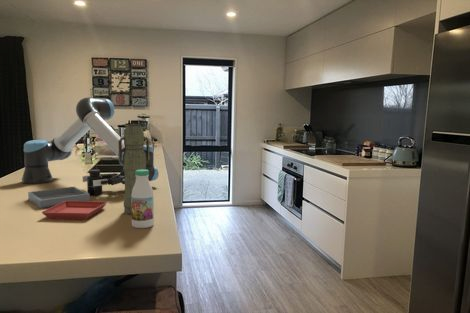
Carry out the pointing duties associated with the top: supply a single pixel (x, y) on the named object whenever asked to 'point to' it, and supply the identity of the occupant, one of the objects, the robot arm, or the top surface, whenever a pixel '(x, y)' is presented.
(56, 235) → the top surface
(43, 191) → the tray
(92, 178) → the supplement bottle
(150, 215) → the milk bottle
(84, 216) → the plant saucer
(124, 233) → the top surface
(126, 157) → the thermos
